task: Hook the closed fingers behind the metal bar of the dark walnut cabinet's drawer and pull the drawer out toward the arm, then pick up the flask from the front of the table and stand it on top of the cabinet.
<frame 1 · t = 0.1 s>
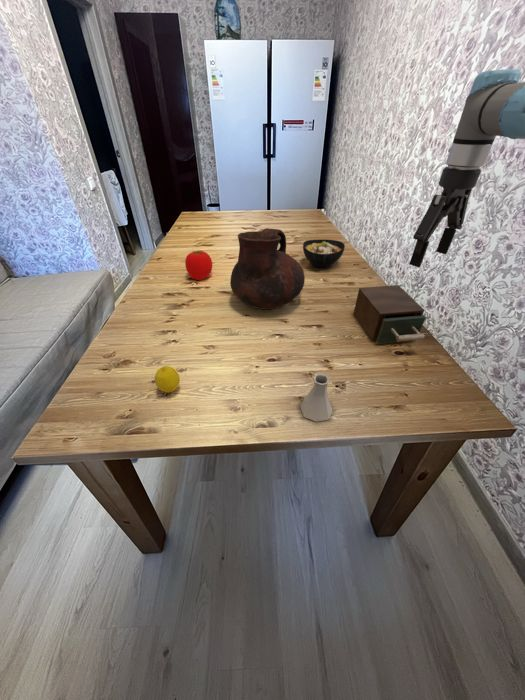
hand: (428, 259, 77), 21 cm above the table, tool pointing down, fingers open, 13 cm apart
tomato: (200, 277, 117), on the table
fruit: (171, 390, 70), on the table
bowl: (321, 265, 124), on the table
jug: (267, 301, 102), on the table
drawer: (393, 322, 82), point 5 cm above the table, slide at 1.0 cm
cabinet: (381, 325, 89), on the table
flask: (316, 409, 65), on the table
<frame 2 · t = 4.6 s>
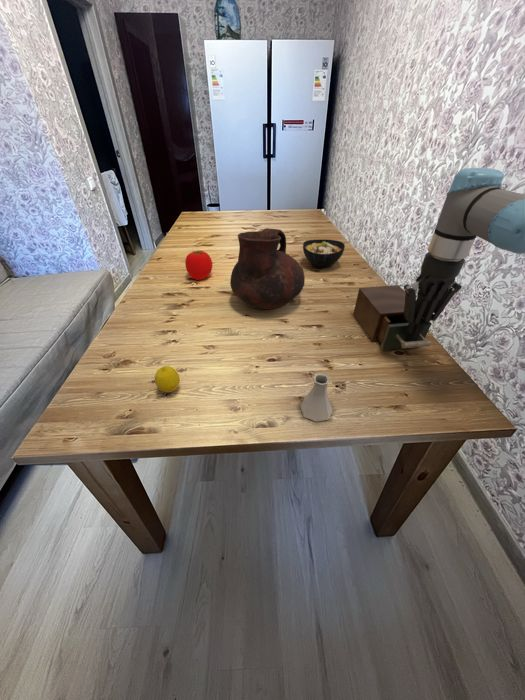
hand: (409, 341, 75), 5 cm above the table, tool pointing down, fingers closed
drawer: (398, 327, 80), point 5 cm above the table, slide at 3.8 cm, touching gripper
everything else where it was.
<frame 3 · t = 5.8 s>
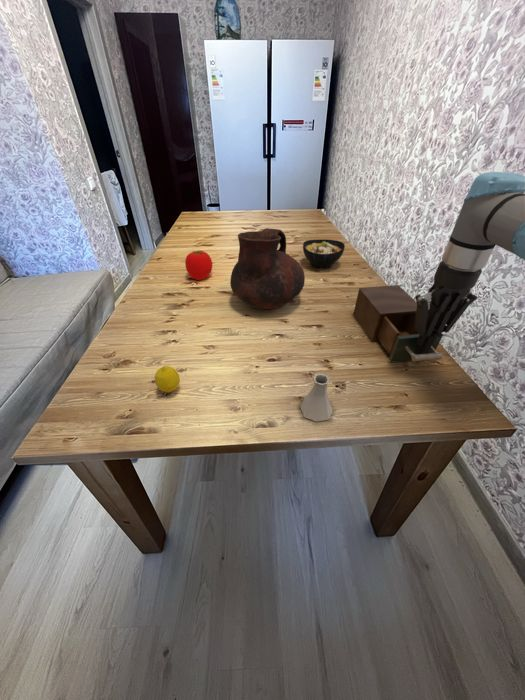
hand: (420, 353, 71), 5 cm above the table, tool pointing down, fingers closed
drawer: (407, 338, 76), point 5 cm above the table, slide at 8.8 cm
everything else where it was.
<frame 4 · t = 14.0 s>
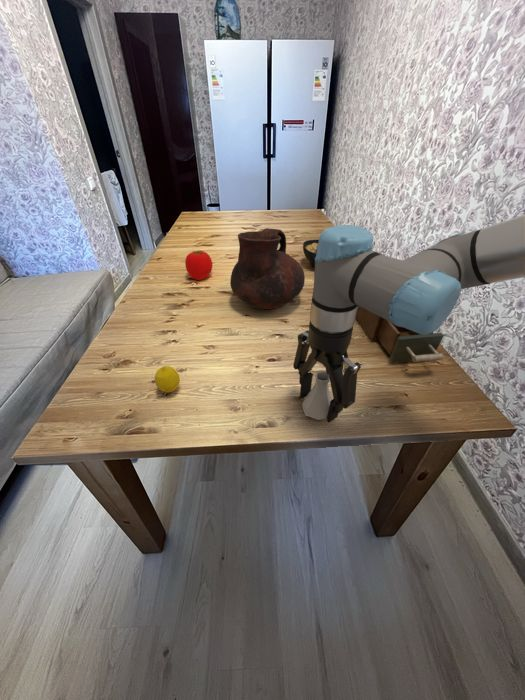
hand: (318, 406, 64), 1 cm above the table, tool pointing down, fingers closed on flask, 8 cm apart
flask: (317, 407, 64), point 1 cm above the table, touching gripper
everything else where it was.
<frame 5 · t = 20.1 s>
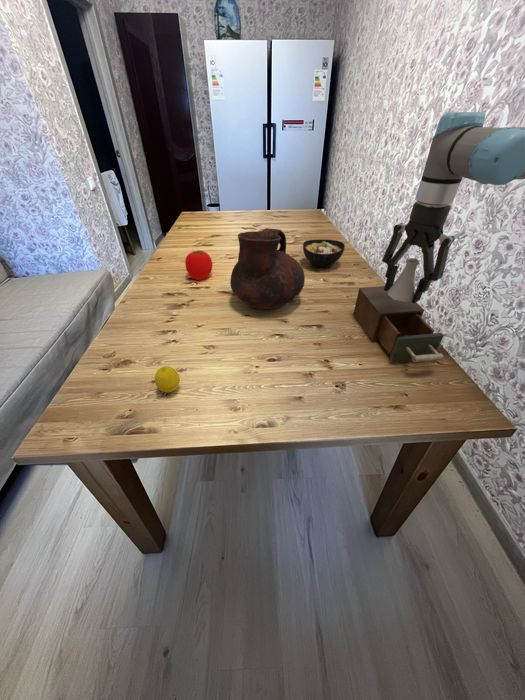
hand: (401, 294, 77), 13 cm above the table, tool pointing down, fingers closed on flask, 8 cm apart
flask: (400, 296, 77), point 13 cm above the table, touching gripper
everything else where it was.
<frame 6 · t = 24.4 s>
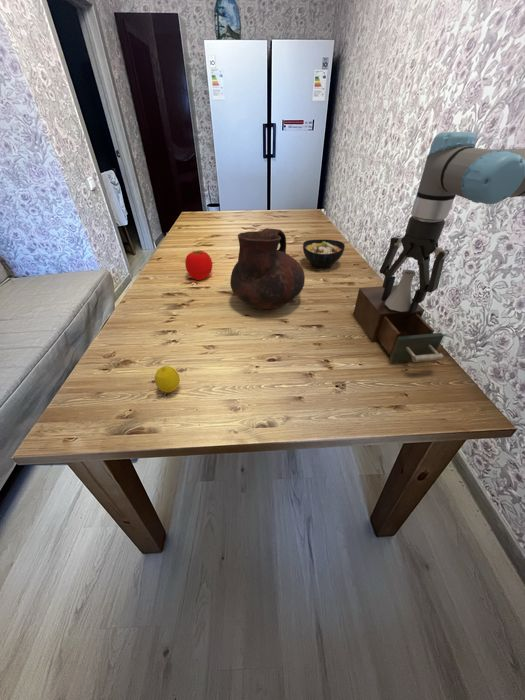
hand: (398, 304, 79), 10 cm above the table, tool pointing down, fingers closed on flask, 8 cm apart
flask: (397, 306, 79), point 10 cm above the table, touching gripper
everything else where it was.
when the fingers open (10 cm above the table, at t = 26.0 s): flask stays where it is, resting on cabinet.
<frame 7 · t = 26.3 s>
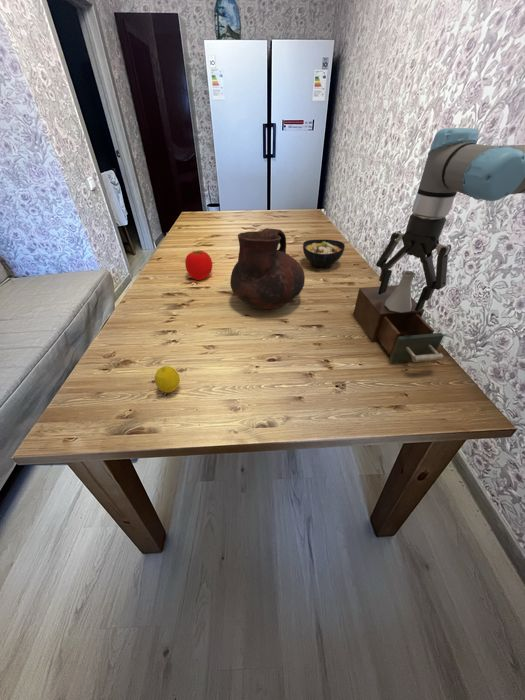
hand: (399, 300, 78), 12 cm above the table, tool pointing down, fingers open, 10 cm apart
flask: (397, 307, 79), point 10 cm above the table, touching cabinet
everything else where it was.
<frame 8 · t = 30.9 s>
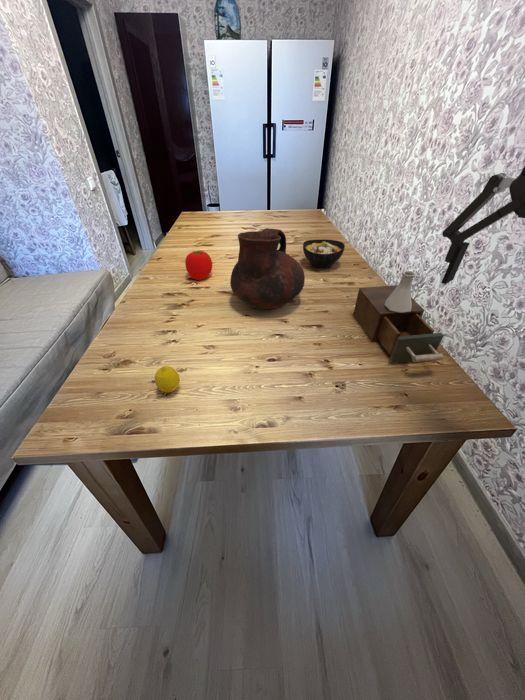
hand: (488, 296, 46), 29 cm above the table, tool pointing down, fingers open, 13 cm apart
nothing on the table moved.
at the end: drawer slide at 9.0 cm; flask inside the target area on the cabinet (0.9 cm from its centre), point 9.6 cm above the cabinet's base; flask tilted 0° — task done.
